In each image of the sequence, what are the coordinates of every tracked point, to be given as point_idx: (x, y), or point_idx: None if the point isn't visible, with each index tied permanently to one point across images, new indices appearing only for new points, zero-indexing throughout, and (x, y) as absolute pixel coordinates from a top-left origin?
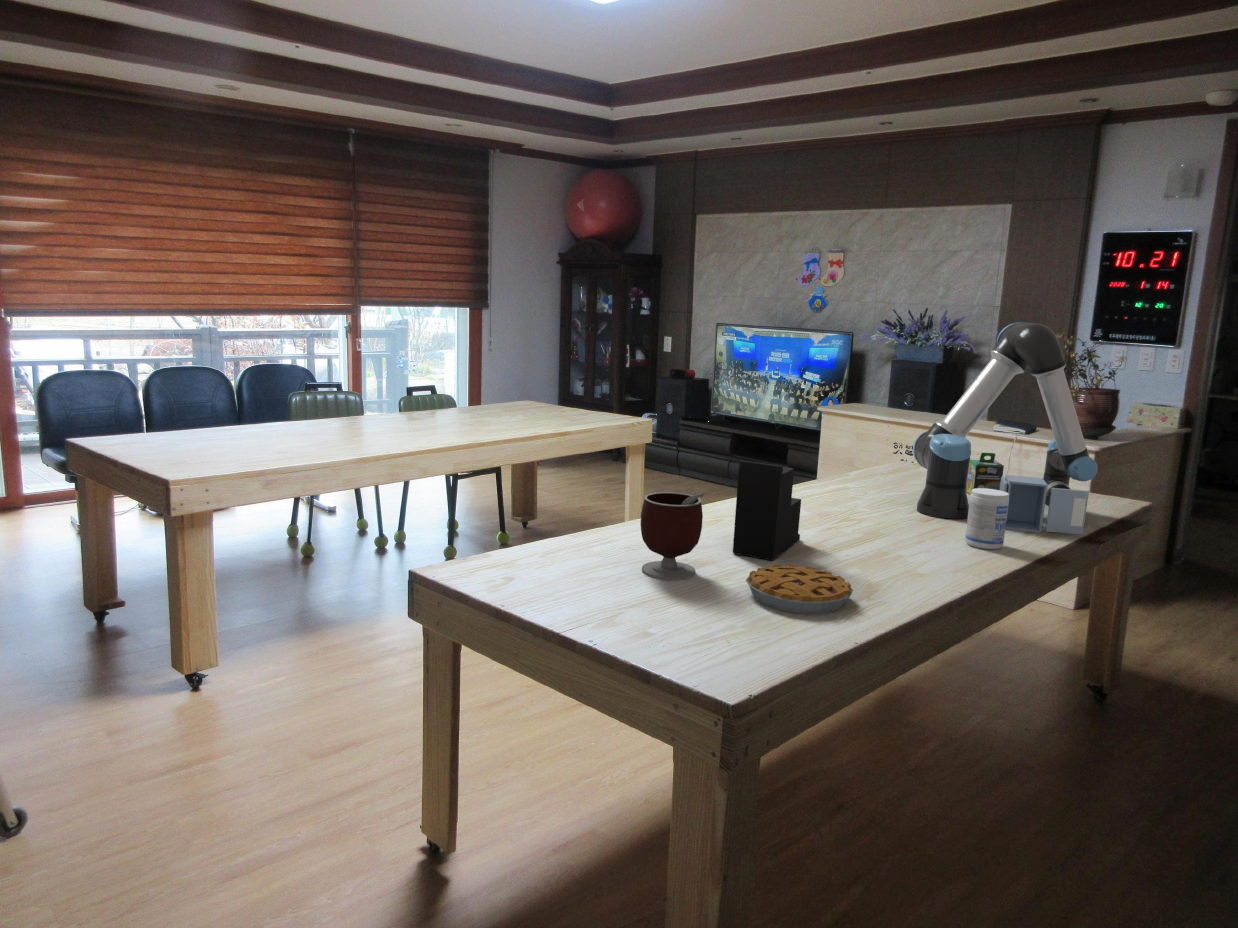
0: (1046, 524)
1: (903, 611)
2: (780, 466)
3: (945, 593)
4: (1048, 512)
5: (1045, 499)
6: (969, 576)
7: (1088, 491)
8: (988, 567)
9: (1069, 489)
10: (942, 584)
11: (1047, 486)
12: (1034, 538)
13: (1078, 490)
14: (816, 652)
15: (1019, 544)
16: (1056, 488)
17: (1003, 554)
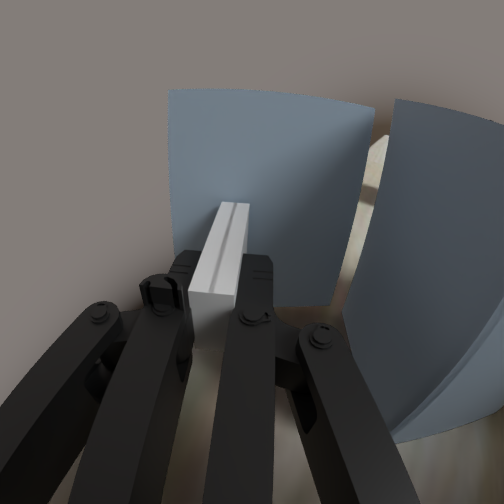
0: (335, 283)
1: (381, 146)
2: (490, 120)
3: (375, 151)
4: (347, 231)
5: (382, 174)
6: (376, 161)
7: (174, 90)
8: (371, 169)
9: (280, 92)
10: (384, 157)
11: (394, 107)
12: (351, 255)
13: (230, 89)
14: (386, 139)
15: (369, 219)
16: (350, 103)
17: (374, 189)
